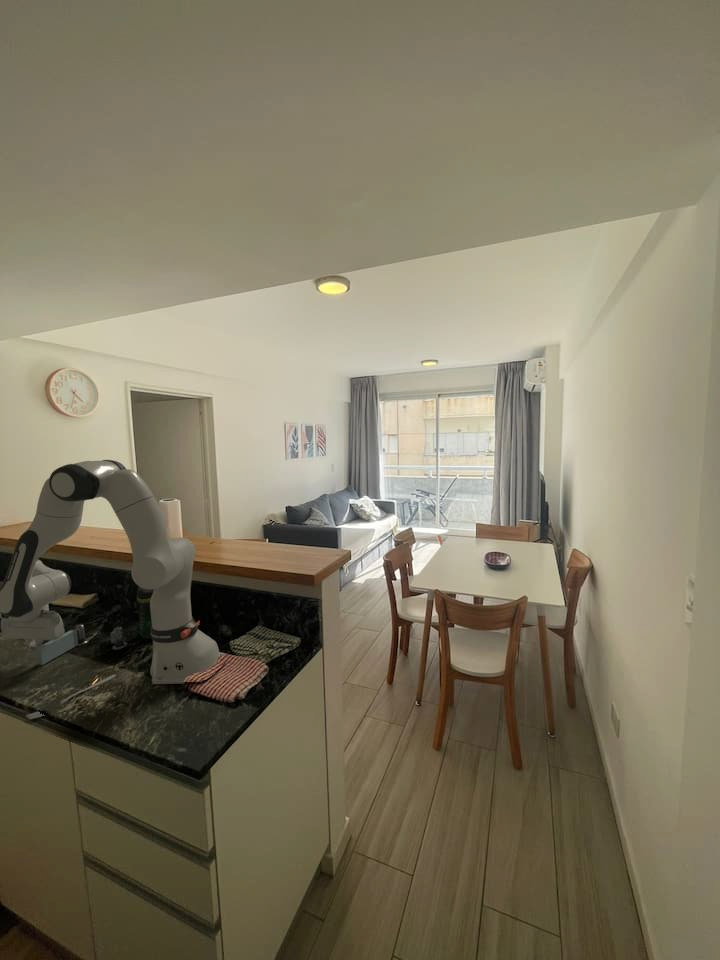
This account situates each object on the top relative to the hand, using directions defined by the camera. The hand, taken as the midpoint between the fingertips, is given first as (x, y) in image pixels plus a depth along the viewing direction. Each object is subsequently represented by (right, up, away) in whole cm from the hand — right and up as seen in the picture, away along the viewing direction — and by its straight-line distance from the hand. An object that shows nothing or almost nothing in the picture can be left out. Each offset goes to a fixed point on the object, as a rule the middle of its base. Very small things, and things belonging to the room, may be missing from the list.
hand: (36, 650), depth 122 cm
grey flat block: (+5, -3, +3) cm, 7 cm away
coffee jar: (+31, -1, +16) cm, 34 cm away
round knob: (+7, -2, +11) cm, 13 cm away
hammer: (+22, -2, +8) cm, 23 cm away
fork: (+28, -5, -17) cm, 33 cm away
